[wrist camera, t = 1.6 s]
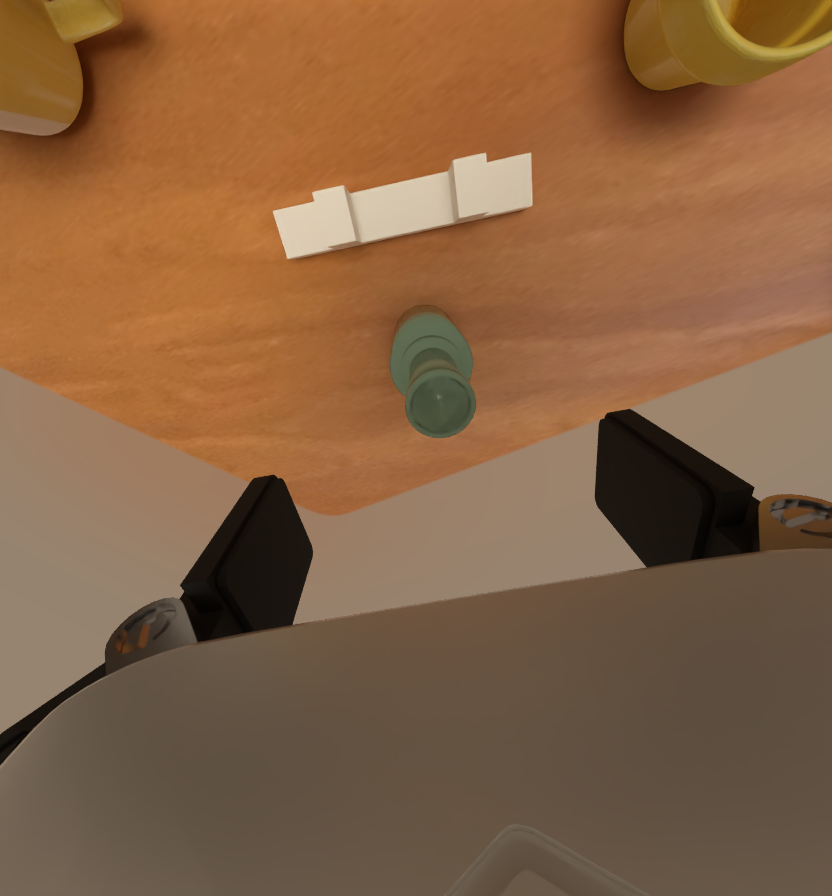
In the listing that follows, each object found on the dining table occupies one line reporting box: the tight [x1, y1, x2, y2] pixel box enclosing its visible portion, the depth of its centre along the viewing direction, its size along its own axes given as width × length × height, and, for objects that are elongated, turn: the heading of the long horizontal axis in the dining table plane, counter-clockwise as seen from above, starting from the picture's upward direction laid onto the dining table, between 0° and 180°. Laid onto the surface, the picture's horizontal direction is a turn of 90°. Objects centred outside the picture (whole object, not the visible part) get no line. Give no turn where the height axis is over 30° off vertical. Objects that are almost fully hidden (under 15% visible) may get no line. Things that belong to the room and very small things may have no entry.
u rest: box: [273, 153, 533, 259], centre depth 25 cm, size 18×3×5 cm, turn 101°
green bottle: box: [390, 305, 476, 438], centre depth 24 cm, size 5×5×17 cm
